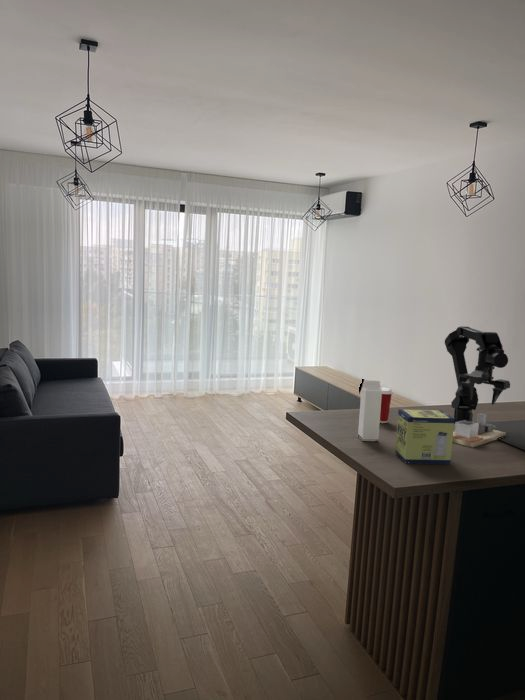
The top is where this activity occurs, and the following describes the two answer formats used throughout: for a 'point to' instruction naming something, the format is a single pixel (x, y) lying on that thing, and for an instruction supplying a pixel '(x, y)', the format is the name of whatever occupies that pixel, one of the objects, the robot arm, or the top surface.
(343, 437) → the top surface
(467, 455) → the top surface
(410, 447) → the protein box
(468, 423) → the steel collar
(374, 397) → the milk
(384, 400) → the paper cup
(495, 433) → the board
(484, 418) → the bench vise
